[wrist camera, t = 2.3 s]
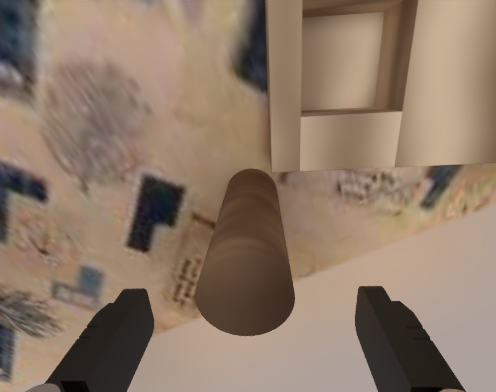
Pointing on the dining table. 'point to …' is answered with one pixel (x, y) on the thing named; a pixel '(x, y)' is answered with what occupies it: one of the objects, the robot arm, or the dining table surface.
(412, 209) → the dining table surface
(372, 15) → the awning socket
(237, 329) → the peg
